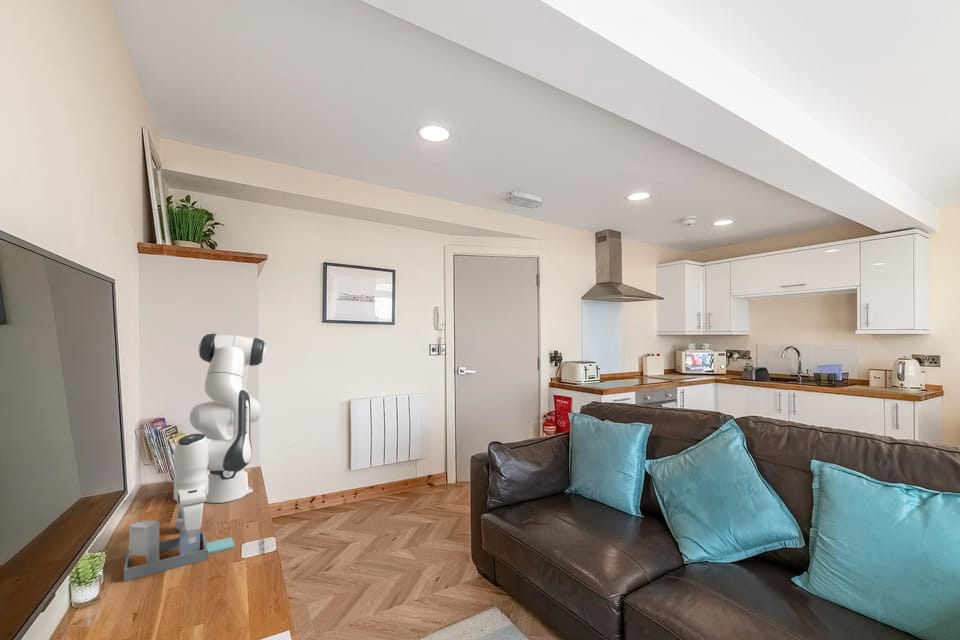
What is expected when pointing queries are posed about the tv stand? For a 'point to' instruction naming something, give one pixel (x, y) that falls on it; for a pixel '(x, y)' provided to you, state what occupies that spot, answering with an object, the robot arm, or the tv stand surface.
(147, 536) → the skincare box
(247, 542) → the tv stand surface
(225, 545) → the pad
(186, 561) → the bin
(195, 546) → the slate box
